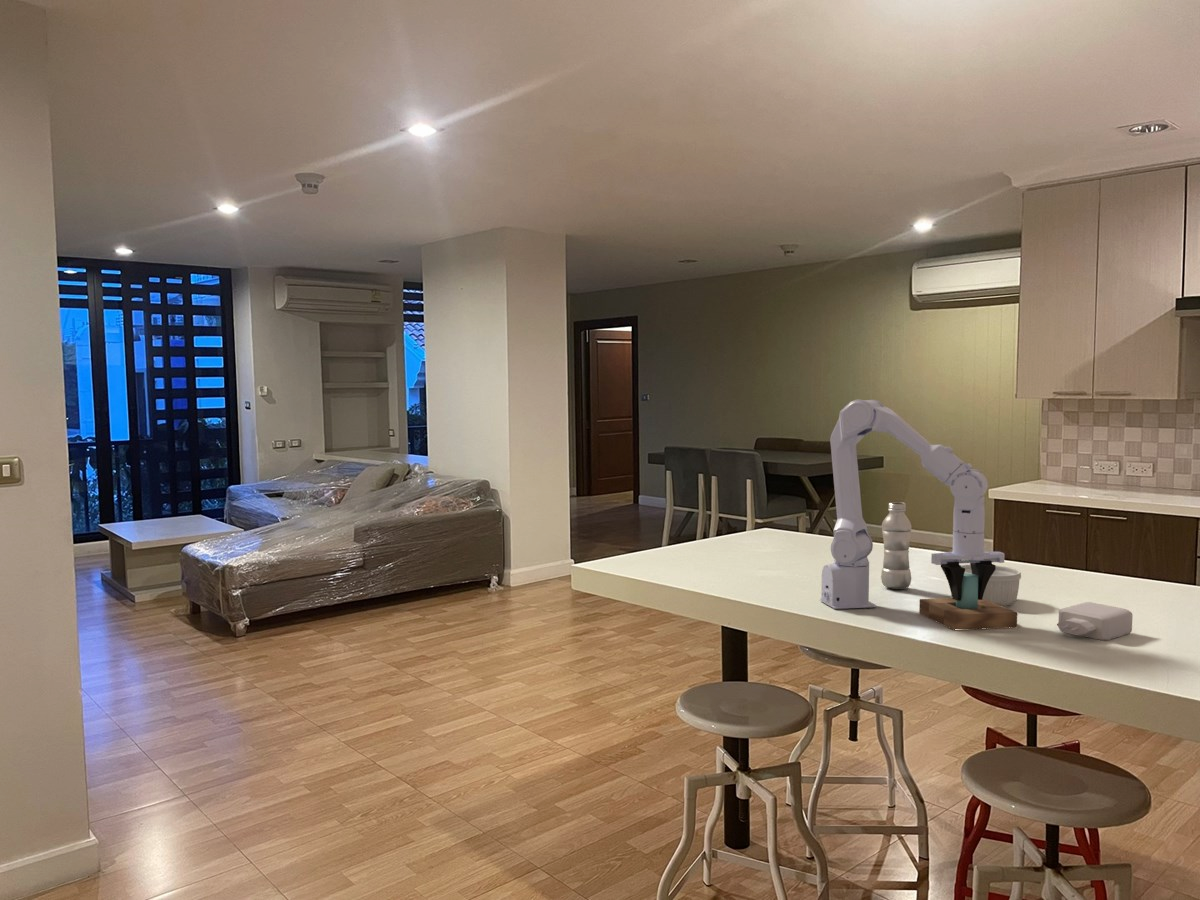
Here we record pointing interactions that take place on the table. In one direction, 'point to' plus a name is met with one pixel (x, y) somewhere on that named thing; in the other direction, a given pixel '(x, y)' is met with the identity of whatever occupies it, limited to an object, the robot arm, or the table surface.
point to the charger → (1095, 621)
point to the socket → (968, 614)
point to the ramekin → (1001, 585)
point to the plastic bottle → (896, 548)
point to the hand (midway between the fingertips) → (967, 599)
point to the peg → (969, 592)
